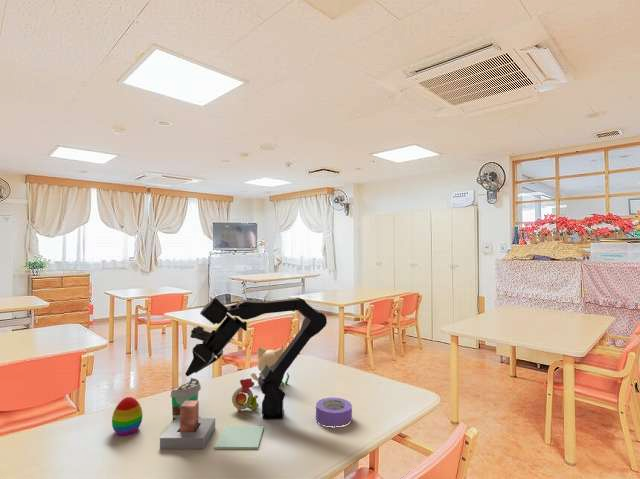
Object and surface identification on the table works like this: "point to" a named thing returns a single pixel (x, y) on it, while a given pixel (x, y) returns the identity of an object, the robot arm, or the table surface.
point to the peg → (189, 416)
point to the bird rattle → (244, 396)
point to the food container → (184, 395)
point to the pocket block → (187, 435)
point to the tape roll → (333, 411)
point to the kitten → (268, 360)
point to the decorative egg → (127, 416)
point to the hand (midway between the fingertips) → (190, 373)
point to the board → (240, 437)
